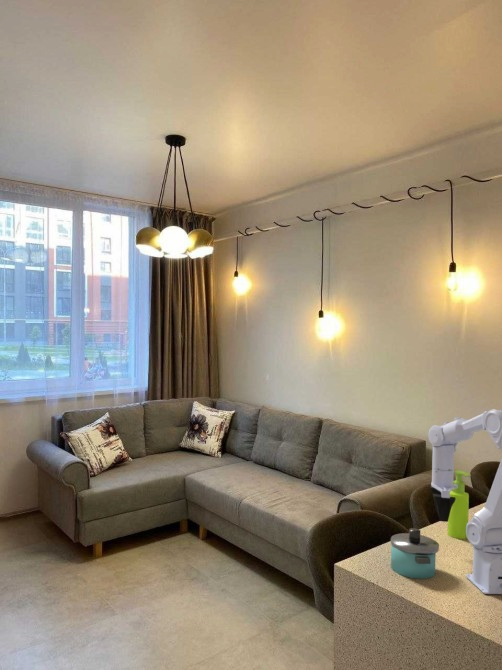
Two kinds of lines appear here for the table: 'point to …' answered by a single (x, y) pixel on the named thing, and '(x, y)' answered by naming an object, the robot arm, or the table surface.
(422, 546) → the lid
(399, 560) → the pot
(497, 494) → the robot arm
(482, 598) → the table surface
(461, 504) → the soap dispenser
